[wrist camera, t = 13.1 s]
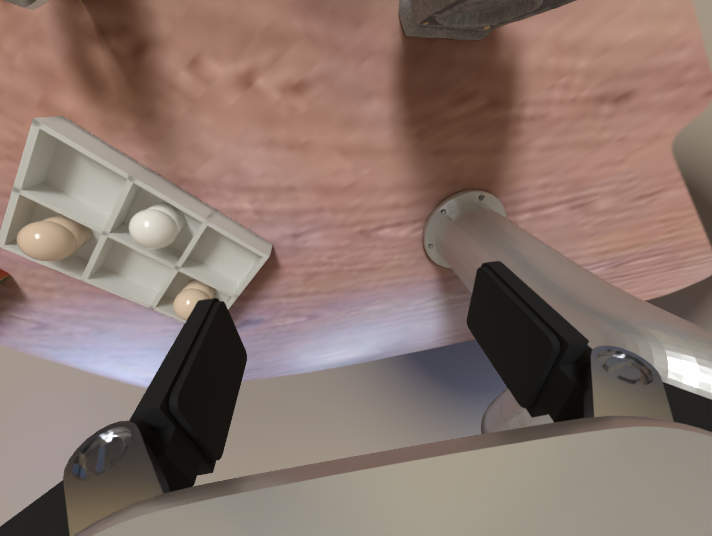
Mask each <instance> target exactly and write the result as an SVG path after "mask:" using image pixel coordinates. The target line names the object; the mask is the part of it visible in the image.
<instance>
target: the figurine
mask: <svg viewBox="0 0 712 536" xmlns="http://www.w3.org/2000/svg"><path fill="white" fill-rule="evenodd" d="M573 1H576V0H400V3H399V17H400V20H401V23H402V26H403V29H404V32H405V35H406V36H412V37H425V38H449V39H456V40H481V39H483V38H485V37H486V36H487V35H488V34H489V33H490V32H491V31H492V29H494V28H497V27H500V26H503V25H506V24H509V23H512V22H516V21H519V20H522V19H525V18H528V17H531V16H534V15H537V14H540V13H543V12H546V11H549V10H552V9H555V8H558V7H560V6H563V5H565V4H568V3H570V2H573Z"/></svg>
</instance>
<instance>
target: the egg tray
mask: <svg viewBox="0 0 712 536" xmlns="http://www.w3.org/2000/svg"><path fill="white" fill-rule="evenodd" d="M158 202H166V203H169V204H171V205H173V206H175V207H176V208H178V209H180V210H181V212H182V213H183V214H184V216H185V220H186V224H185V227H184V229H183V230H182V231H181V232H180V233H179V234H178V235H177V237H176V239H175V240H174V242H173V243H172V244H170V245H169V246H167V247H164V248H161V249H150V248H146V247H143V246H141V245H139V244H138V243H137V242H135V241H134V239H133V238H132V237H131V235H130V232H129V223H130V220H131V219H132V217H133V216H134V215H135V214H137V213H138V212H140V211H143V210H146V209H147V208H149V207H150V206H152V205H153V204H155V203H158ZM56 214H62V215H64V216H66V217H68V218H70V219H72V220H74V221H76V222H78V223H80V224H82V225H84V226H86V227H88V228H90V229H91V232H92V238H91V240H90V241H89V242H88V243H86V244H84V245H83V246H81V247H80V248H78V249H76V250H75V251H74V253H73V254H72V255H70V256H69V257H67V258H65V259H62V260H59V261H40V260H36V259H33V258H31V257H29V256H27V255H26V254H24V253H23V252H22V251H21V250H20V248H19V247H18V244H17V235H18V233H19V231H20V230H21V229H22V228H23V227H25V226H26V225H28V224H30V223H33V222H38V221H42V220H44V219H47V218H49V217H51V216H54V215H56ZM272 246H273V244H271V243H269V242H268V241H266V240H264V239H263V238H261V237H259V236H258V235H256V234H255V233H253V232H251V231H250V230H248V229H246V228H245V227H243V226H241V225H240V224H238V223H237V222H235V221H233V220H232V219H230V218H228V217H227V216H225V215H223V214H222V213H220V212H219V211H217V210H215V209H214V208H212V207H210V206H209V205H207V204H206V203H204V202H202V201H201V200H199V199H197V198H196V197H194V196H192V195H191V194H189V193H188V192H186V191H184V190H183V189H181V188H179V187H178V186H176V185H174V184H173V183H171V182H170V181H168V180H166V179H165V178H163V177H161V176H160V175H158V174H156V173H155V172H153V171H152V170H150V169H148V168H147V167H145V166H143V165H142V164H140V163H139V162H137V161H135V160H134V159H132V158H130V157H129V156H127V155H125V154H124V153H122V152H121V151H119V150H117V149H116V148H114V147H112V146H111V145H109V144H107V143H106V142H104V141H103V140H101V139H99V138H98V137H96V136H94V135H93V134H91V133H89V132H88V131H86V130H85V129H83V128H81V127H80V126H78V125H76V124H75V123H73V122H71V121H70V120H68V119H67V118H65V117H63V116H55V117H43V118H33V121H32V124H31V128H30V131H29V135H28V138H27V142H26V145H25V148H24V152H23V155H22V159H21V162H20V166H19V169H18V172H17V176H16V179H15V183H14V186H13V190H12V193H11V196H10V200H9V203H8V207H7V210H6V214H5V217H4V220H3V224H2V227H1V231H0V248H3V249H5V250H8V251H10V252H13V253H15V254H17V255H20V256H22V257H25V258H27V259H30V260H32V261H35V262H37V263H39V264H42V265H44V266H47V267H49V268H52V269H54V270H57V271H59V272H62V273H64V274H66V275H69V276H71V277H74V278H76V279H79V280H81V281H84V282H86V283H88V284H91V285H93V286H96V287H98V288H101V289H103V290H106V291H108V292H111V293H113V294H115V295H118V296H120V297H123V298H125V299H128V300H130V301H133V302H135V303H138V304H140V305H142V306H145V307H147V308H150V309H152V310H155V311H157V312H160V313H162V314H164V315H167V316H169V317H172V318H174V319H177V320H179V321H182V322H184V323H186V320H183V319H181V318H179V317H178V316H177V315H176V314H175V312H174V309H173V302H174V299H175V298H176V296H177V295H178V294H179V293H180V292H181V291H182V290H183V289H184V287H185V286H186V284H187V283H188V282H189V281H190V280H192V279H196V280H198V281H200V282H202V283H204V284H206V285H208V286H211V287H213V288H215V289H216V295H215V298H218V299H219V301H224V302H225V304H226V306H227V309H229V308H230V307H231V305H232V304H233V303H234V302H235V300H236V299H237V298H238V296H239V295H240V294H241V293H242V291H243V290H244V289H245V287H246V286H247V285H248V284H249V282H250V281H251V280H252V278H253V277H254V276H255V275H256V273H257V272H258V271H259V269H260V268H261V267H262V266H263V264H264V263H265V262H266V261H267V259H268V258H269V256H270V253H271V249H272Z"/></svg>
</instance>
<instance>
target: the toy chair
mask: <svg viewBox="0 0 712 536" xmlns="http://www.w3.org/2000/svg"><path fill="white" fill-rule="evenodd" d="M5 1H7V2H10V3H13V4H15V5H18V6H21V7H24V8H27V9H31V10H34V9H37V8H38V7H40V6H41V5H43V4H44V3H46V2H47V1H49V0H5ZM79 1H80V2H81V0H79Z"/></svg>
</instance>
